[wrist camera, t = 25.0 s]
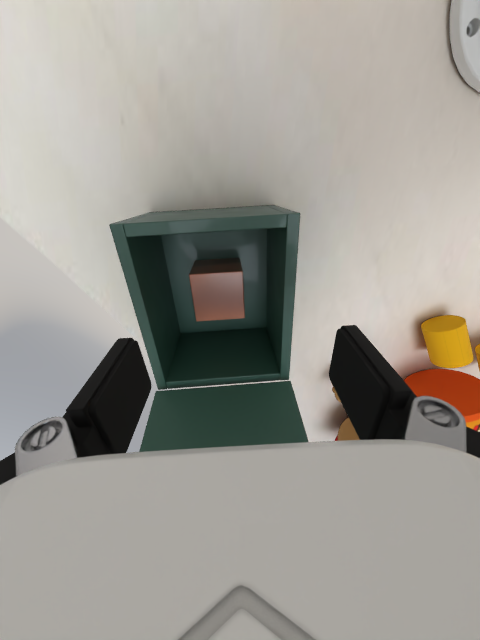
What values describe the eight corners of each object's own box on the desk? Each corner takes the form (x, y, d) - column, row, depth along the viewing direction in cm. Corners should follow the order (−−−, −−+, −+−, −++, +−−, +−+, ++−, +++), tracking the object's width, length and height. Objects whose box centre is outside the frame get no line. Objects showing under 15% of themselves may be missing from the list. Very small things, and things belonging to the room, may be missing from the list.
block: (194, 260, 23) (188, 274, 19) (239, 257, 24) (242, 270, 20) (200, 301, 26) (196, 321, 22) (241, 298, 26) (245, 318, 22)
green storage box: (149, 212, 22) (108, 224, 14) (274, 204, 22) (300, 212, 14) (176, 335, 28) (158, 389, 21) (271, 328, 29) (289, 379, 21)
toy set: (290, 357, 35) (331, 453, 40) (309, 401, 25) (362, 524, 30) (462, 289, 32) (485, 402, 37) (567, 307, 22) (581, 462, 26)
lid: (62, 728, 8) (115, 705, 12) (382, 692, 9) (349, 680, 12) (155, 390, 20) (169, 425, 23) (290, 380, 20) (286, 416, 24)
